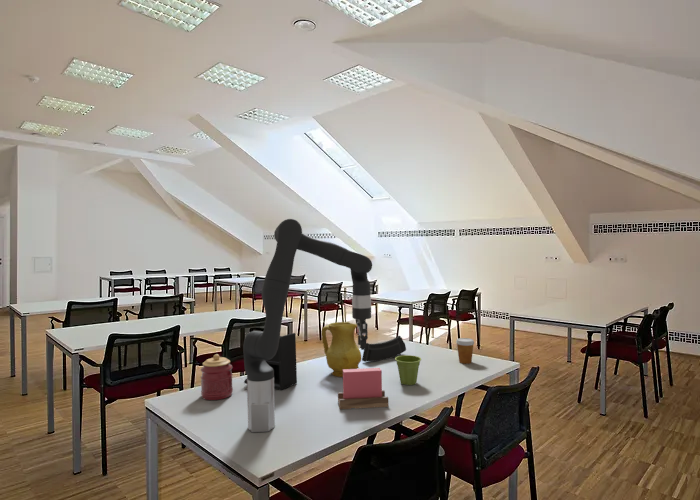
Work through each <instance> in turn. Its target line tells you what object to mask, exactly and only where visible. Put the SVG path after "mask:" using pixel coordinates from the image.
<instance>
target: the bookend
mask: <svg viewBox="0 0 700 500" xmlns="http://www.w3.org/2000/svg"><path fill="white" fill-rule="evenodd" d="M296 342H297V340H296V332H293V333H289V334H284V335H280V339H279V346H278V350H277V352H276V354H275V356H274V357H273V358H272V359H270V360H265V361H266V363H267V364H268V365H269V366H271V367H272V368H273V370H274V390H280V391H282V390H284V389H287V388H289V387H292V386H294V385H296V384H298V378H297V377H298V376H297V343H296ZM243 381H244V382H243V383H245V384H247V378H245V379H244V380H243Z"/></svg>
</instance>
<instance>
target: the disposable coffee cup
mask: <svg viewBox="0 0 700 500" xmlns="http://www.w3.org/2000/svg"><path fill="white" fill-rule="evenodd" d="M455 343H456V347H457V355H458V361H459V363H460V364H463V365H464V364H465V365H469V364H472V360H473V354H474V353H473V352H474V345H475V341H474V339H473V338H468V337H460V338H456V341H455Z"/></svg>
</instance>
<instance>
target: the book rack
mask: <svg viewBox="0 0 700 500" xmlns="http://www.w3.org/2000/svg"><path fill="white" fill-rule="evenodd" d="M385 393H386V390H383V389H382V397H370V398H351V399H343V391H342V392H341V391H340V392H337V401H338V402H337V403H338V407H339V410H350V409H351V408H355V409H366V408H367V409H370V408H373V409H374V408H386V407H387V408H389V397H388V396H386V394H385ZM351 410H352V409H351Z"/></svg>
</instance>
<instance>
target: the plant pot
mask: <svg viewBox="0 0 700 500" xmlns="http://www.w3.org/2000/svg"><path fill="white" fill-rule="evenodd" d="M394 361H396V365H397V369H398V376H399V381H400V382H399V383H400V384H401V385H405V386H414V385H416V384H417V382H418V381H417V380H418V375H419V367H420V364H421V361H422V358H421V357H420V356H416V355H408V354H406V355H404V354H403V355H397V356H395V358H394Z"/></svg>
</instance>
